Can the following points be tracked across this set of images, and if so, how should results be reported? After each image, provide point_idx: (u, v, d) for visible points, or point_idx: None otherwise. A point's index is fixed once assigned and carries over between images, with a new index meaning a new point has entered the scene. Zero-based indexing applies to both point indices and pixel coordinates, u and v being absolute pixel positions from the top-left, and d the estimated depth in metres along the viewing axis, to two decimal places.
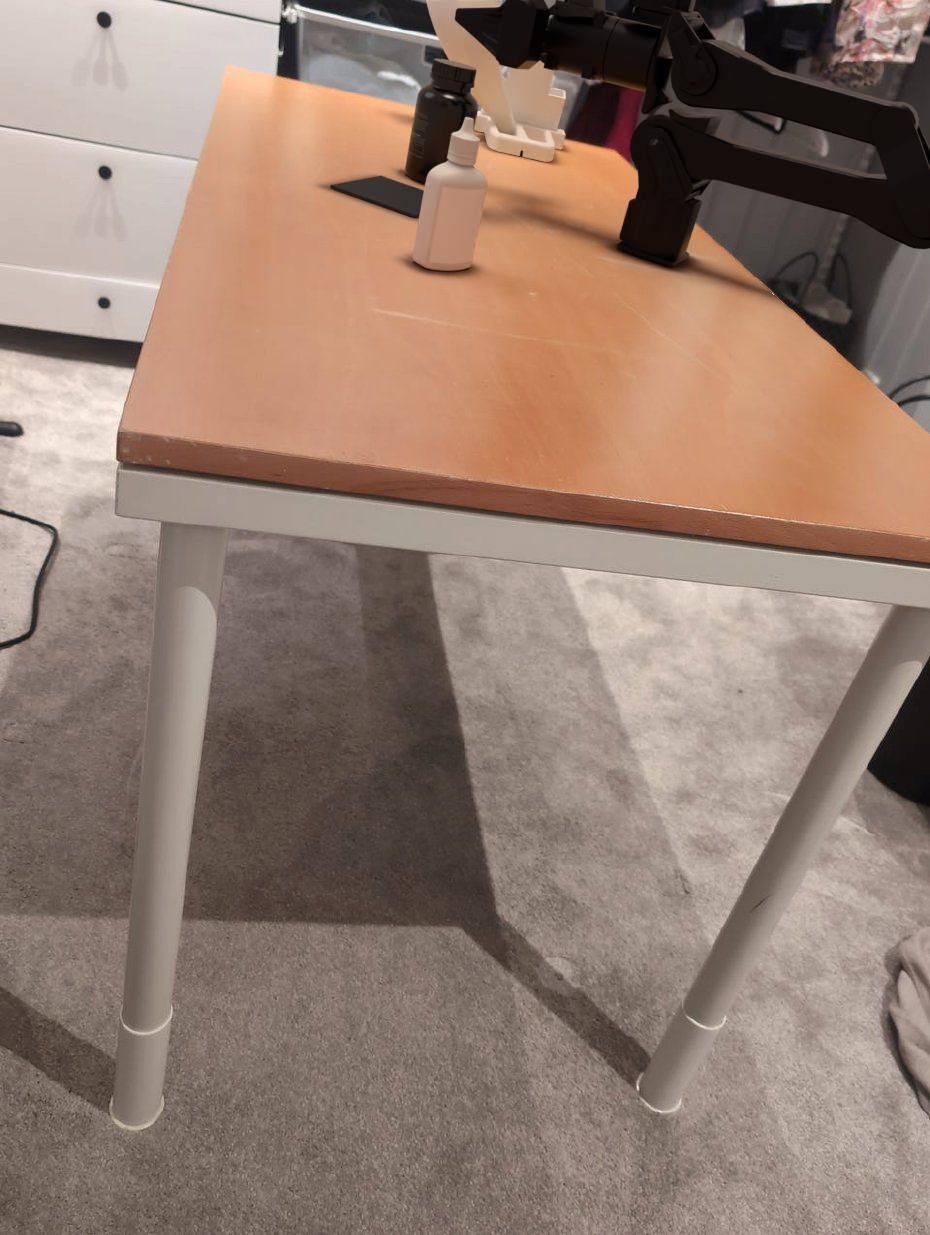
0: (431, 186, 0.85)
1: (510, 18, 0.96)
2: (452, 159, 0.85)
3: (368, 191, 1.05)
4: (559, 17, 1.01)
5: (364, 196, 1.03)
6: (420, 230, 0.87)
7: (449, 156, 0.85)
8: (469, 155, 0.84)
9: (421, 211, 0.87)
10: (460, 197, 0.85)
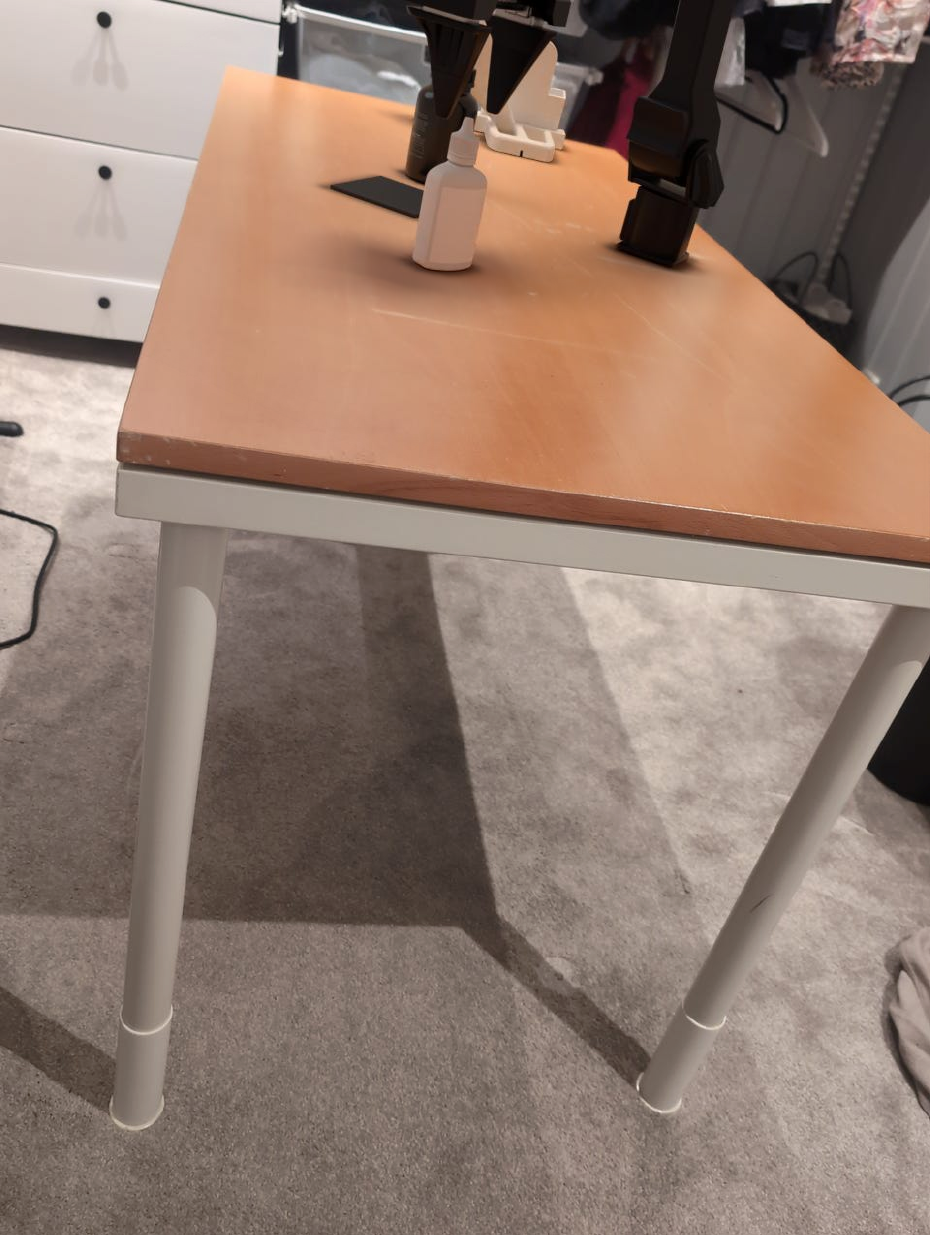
0: (431, 186, 0.85)
1: None
2: (452, 159, 0.85)
3: (368, 191, 1.05)
4: None
5: (364, 196, 1.03)
6: (420, 230, 0.87)
7: (449, 156, 0.85)
8: (469, 155, 0.84)
9: (421, 211, 0.87)
10: (460, 196, 0.85)
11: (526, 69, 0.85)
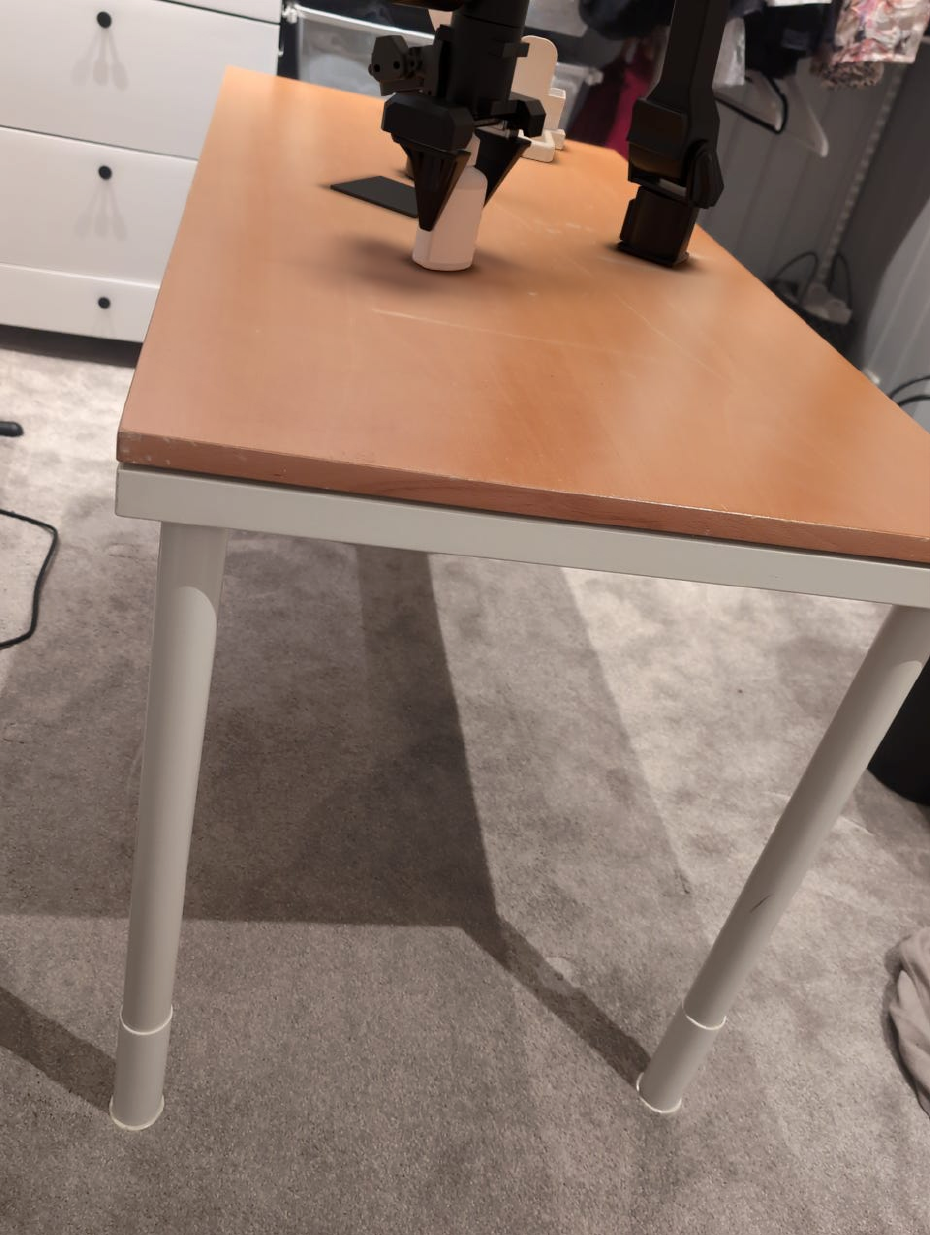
0: None
1: (402, 129, 0.77)
2: None
3: (368, 191, 1.05)
4: (441, 91, 0.81)
5: (364, 196, 1.03)
6: (420, 230, 0.87)
7: None
8: None
9: None
10: (460, 196, 0.85)
11: (502, 177, 0.90)
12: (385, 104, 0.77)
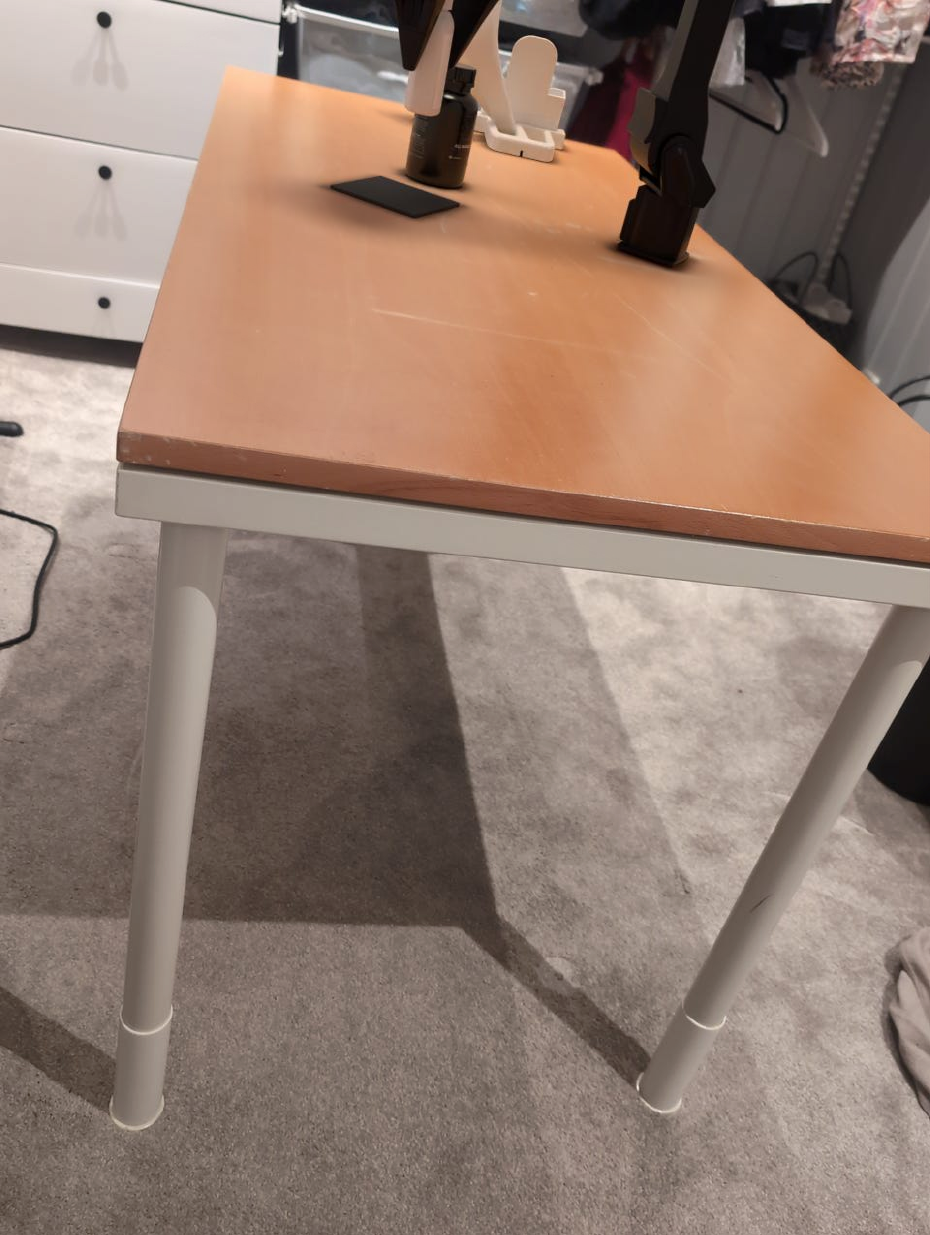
0: (432, 35, 0.92)
1: None
2: None
3: (368, 191, 1.05)
4: None
5: (364, 196, 1.03)
6: (420, 80, 0.94)
7: None
8: (451, 0, 0.92)
9: (420, 61, 0.93)
10: (450, 41, 0.93)
11: (476, 28, 0.97)
12: None
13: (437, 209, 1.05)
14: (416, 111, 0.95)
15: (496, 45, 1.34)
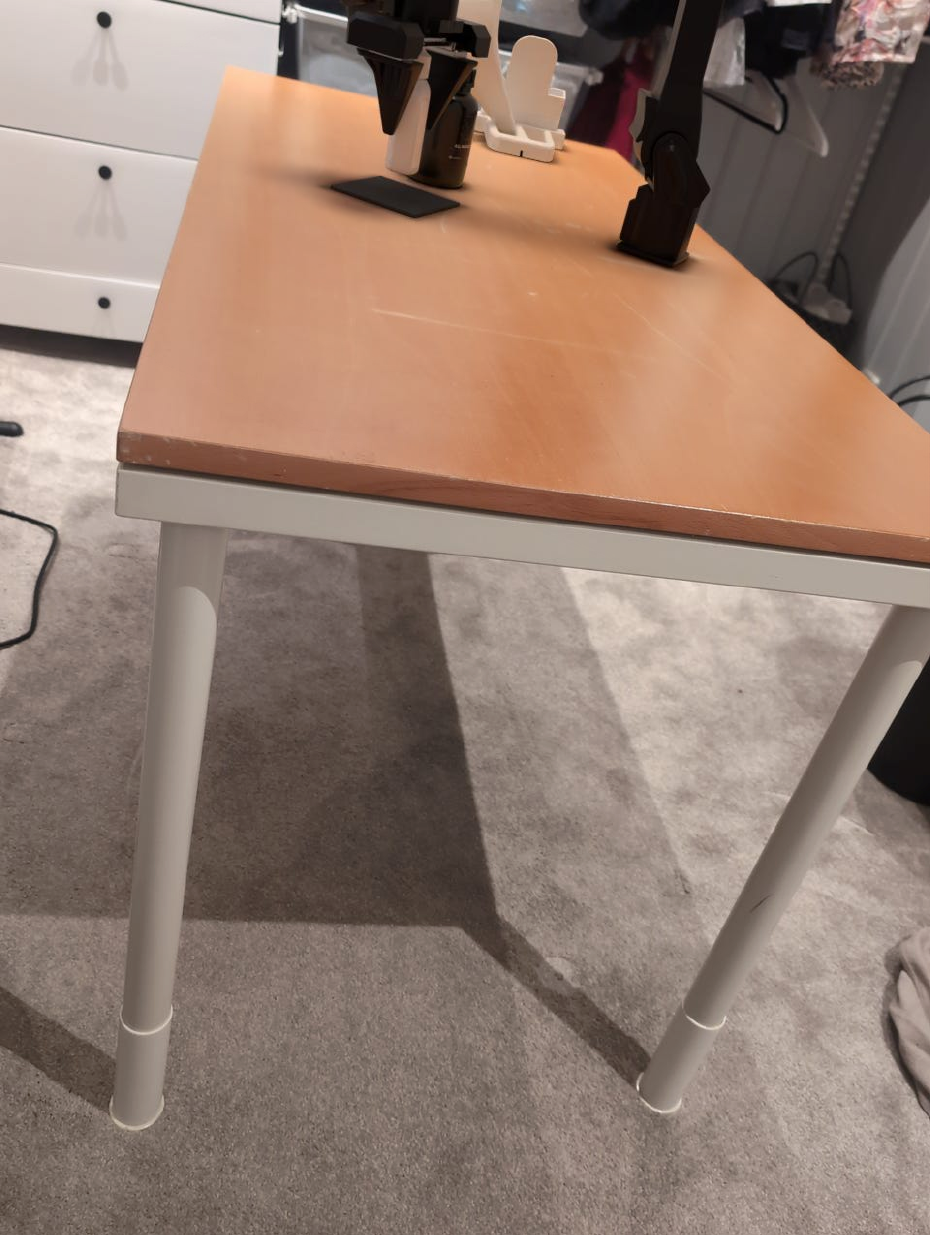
0: (409, 102, 0.99)
1: (362, 41, 0.92)
2: None
3: (368, 191, 1.05)
4: (397, 13, 0.96)
5: (364, 196, 1.03)
6: (399, 143, 1.01)
7: None
8: (427, 70, 1.00)
9: (398, 126, 1.00)
10: (427, 107, 1.01)
11: (452, 93, 1.04)
12: (348, 20, 0.92)
13: (437, 209, 1.05)
14: (396, 171, 1.03)
15: (496, 45, 1.34)
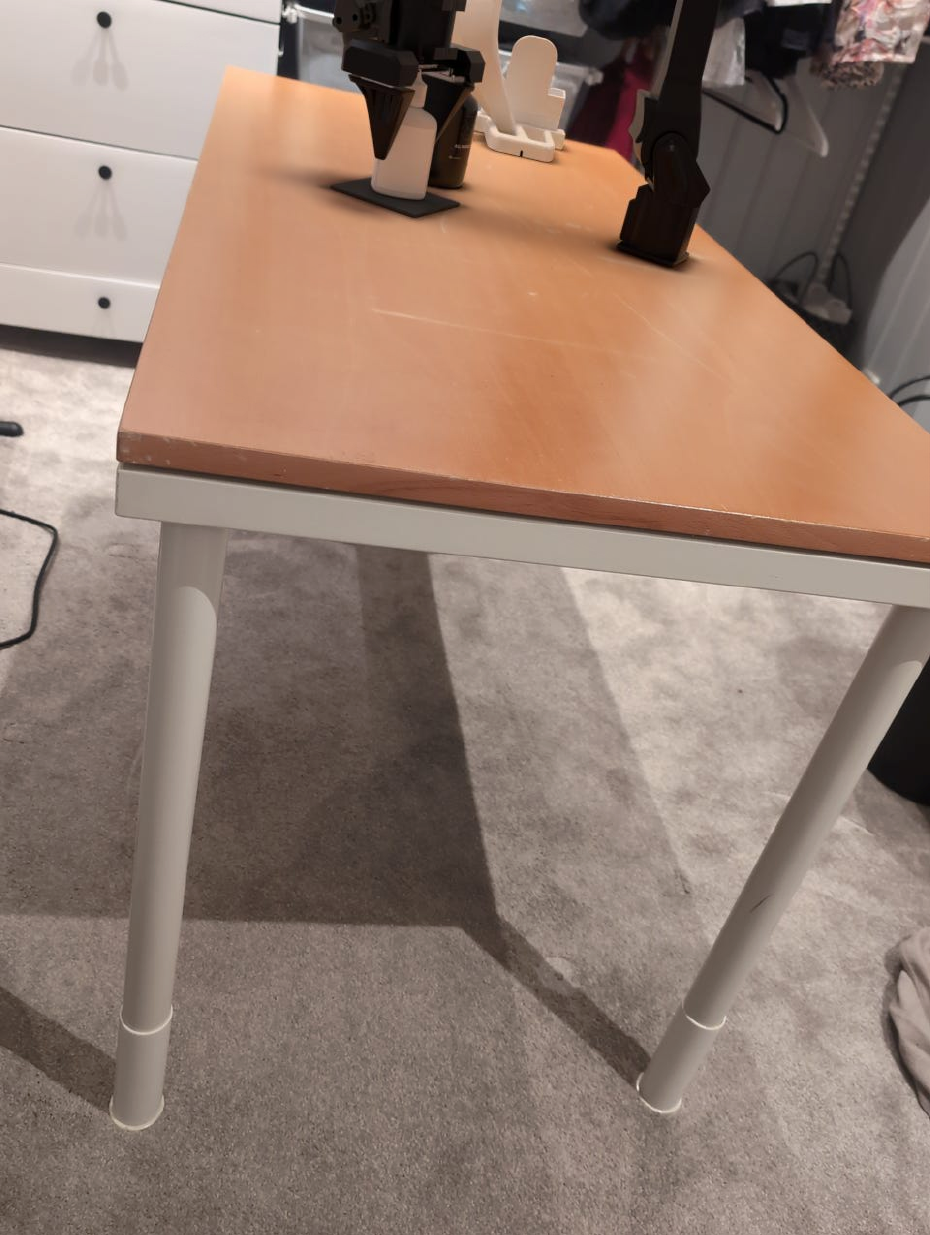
0: None
1: (358, 69, 0.93)
2: None
3: (368, 191, 1.05)
4: (392, 40, 0.97)
5: (364, 196, 1.03)
6: (374, 159, 1.04)
7: None
8: None
9: None
10: (402, 131, 1.01)
11: (450, 117, 1.06)
12: (344, 48, 0.93)
13: (437, 209, 1.05)
14: (372, 186, 1.06)
15: (496, 45, 1.34)
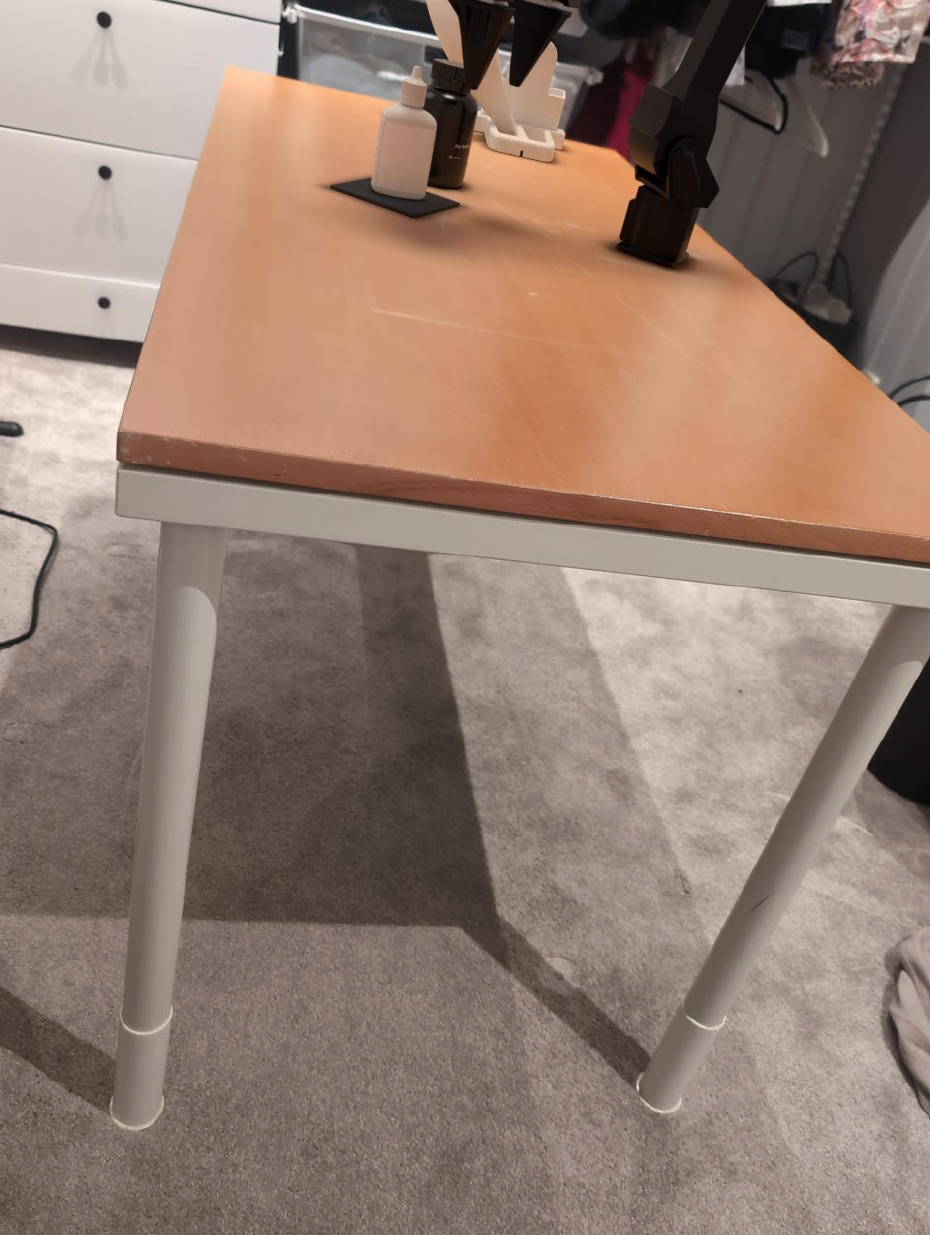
0: (381, 121, 1.02)
1: None
2: (400, 100, 1.01)
3: (368, 191, 1.05)
4: None
5: (364, 196, 1.03)
6: (374, 159, 1.04)
7: (400, 98, 1.01)
8: (412, 97, 1.00)
9: None
10: (402, 131, 1.01)
11: (544, 46, 0.96)
12: None
13: (437, 209, 1.05)
14: (372, 186, 1.06)
15: None
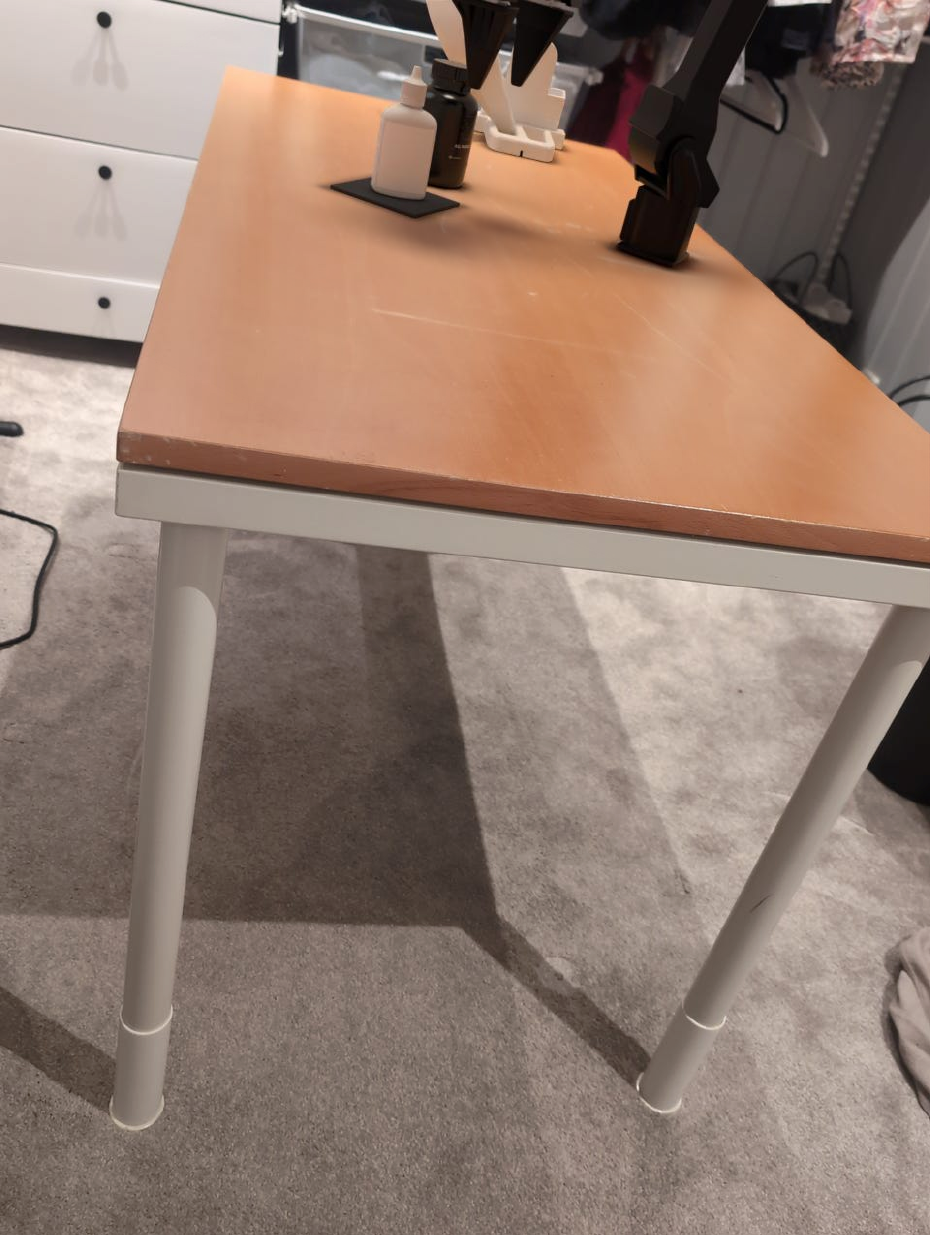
0: (381, 121, 1.02)
1: None
2: (400, 100, 1.01)
3: (368, 191, 1.05)
4: None
5: (364, 196, 1.03)
6: (374, 159, 1.04)
7: (400, 98, 1.01)
8: (412, 97, 1.00)
9: None
10: (402, 131, 1.01)
11: (546, 46, 0.96)
12: None
13: (437, 209, 1.05)
14: (372, 186, 1.06)
15: None
